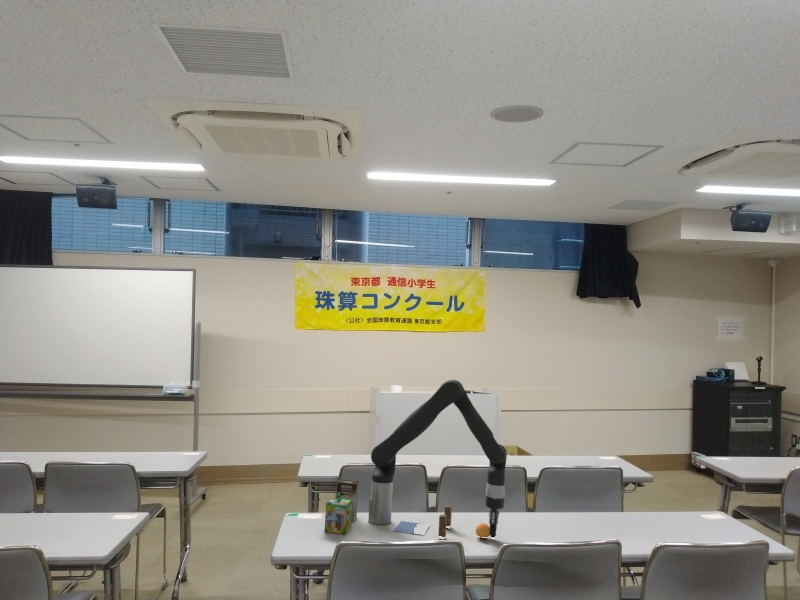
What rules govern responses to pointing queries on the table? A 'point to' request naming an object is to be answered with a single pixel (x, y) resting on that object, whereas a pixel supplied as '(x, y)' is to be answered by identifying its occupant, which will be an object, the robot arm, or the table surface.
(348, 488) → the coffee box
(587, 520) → the table surface
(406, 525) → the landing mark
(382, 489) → the robot arm
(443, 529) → the post
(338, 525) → the chalk box
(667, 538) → the table surface
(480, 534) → the ball
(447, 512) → the post
